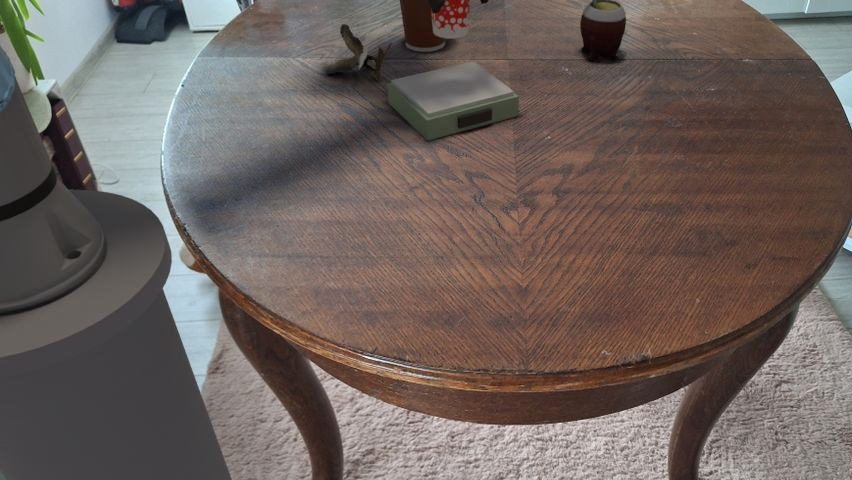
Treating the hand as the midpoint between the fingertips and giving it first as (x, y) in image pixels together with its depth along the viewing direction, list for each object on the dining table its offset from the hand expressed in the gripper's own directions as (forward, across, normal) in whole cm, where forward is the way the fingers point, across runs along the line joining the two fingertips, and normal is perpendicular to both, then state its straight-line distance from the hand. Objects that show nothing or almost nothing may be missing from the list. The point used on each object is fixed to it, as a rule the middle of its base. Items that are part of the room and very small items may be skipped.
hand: (464, 2), depth 90 cm
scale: (+9, 0, -14) cm, 16 cm away
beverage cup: (+1, 0, -6) cm, 6 cm away
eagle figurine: (-3, +7, -26) cm, 27 cm away
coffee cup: (-7, -7, -30) cm, 31 cm away
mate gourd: (+5, -29, -18) cm, 34 cm away
